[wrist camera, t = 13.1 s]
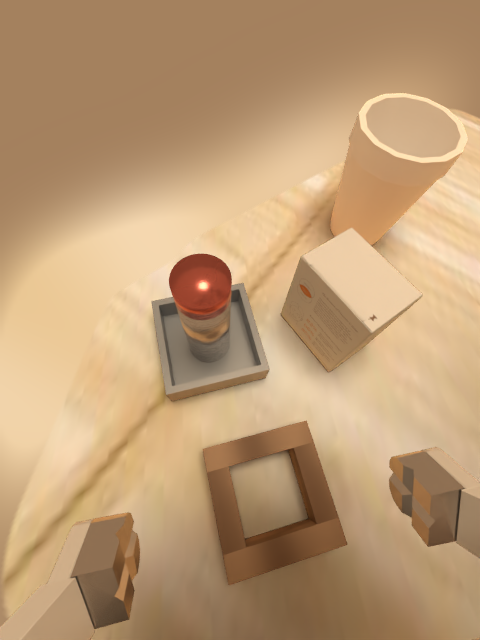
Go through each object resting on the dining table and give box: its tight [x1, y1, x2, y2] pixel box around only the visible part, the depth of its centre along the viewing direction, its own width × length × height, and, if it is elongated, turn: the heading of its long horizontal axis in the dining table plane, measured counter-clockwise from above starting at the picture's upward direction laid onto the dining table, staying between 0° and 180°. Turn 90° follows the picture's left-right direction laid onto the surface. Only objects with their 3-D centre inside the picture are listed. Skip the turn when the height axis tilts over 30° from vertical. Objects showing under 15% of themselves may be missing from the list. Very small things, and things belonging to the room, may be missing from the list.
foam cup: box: [330, 93, 468, 245], centre depth 32 cm, size 10×9×13 cm
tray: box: [151, 283, 270, 401], centre depth 30 cm, size 9×9×3 cm
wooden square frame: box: [203, 421, 347, 585], centre depth 25 cm, size 9×9×2 cm
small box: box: [281, 228, 423, 372], centre depth 28 cm, size 8×6×10 cm
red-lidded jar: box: [169, 254, 232, 363], centre depth 25 cm, size 4×4×12 cm
